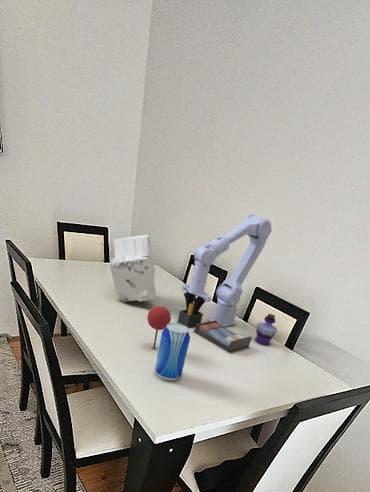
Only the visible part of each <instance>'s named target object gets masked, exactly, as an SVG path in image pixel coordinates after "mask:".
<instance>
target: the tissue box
mask: <svg viewBox="0 0 370 492" xmlns="http://www.w3.org/2000/svg"><path fill="white" fill-rule="evenodd" d="M112 241H113V242H112V243H113V252H114V257H111V258H110V263H109V267H110V272H111V276H112V280H113V285H114V288H115V289H114V290H115V293H116V296H118V300H119V301H123V302H124V303H126V302H133V301H138V302H143V301H144V302H146V301H151V300H153V299H154V298H156V295H157V293H156V291H157V290H156V283H155V274H156V267H155V262H154V257H153V256H154V255H153V251H152V244H151V239H150V234H148V233H147V234H141V235H134V236H128V237H120V238H114V239H112Z"/></svg>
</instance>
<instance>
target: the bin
mask: <svg viewBox="0 0 370 492" xmlns="http://www.w3.org/2000/svg"><path fill="white" fill-rule="evenodd" d="M187 313H188V311H186V309H180V310H179V314H178V319H177V323H178V324H182V325H184V326H186V327H187V328H191V327H196V324H198V323H202V319H203V315H204V313H202V312H200V310H199V311H198V313H197V314H196V315H188V314H187Z"/></svg>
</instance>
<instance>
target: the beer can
mask: <svg viewBox="0 0 370 492" xmlns="http://www.w3.org/2000/svg"><path fill="white" fill-rule="evenodd" d="M190 340H191V336H190V329H189V327H186V326H184V325H182V324H180V323H179V322H170V323H169V324H167V326H166V328H165V329H163V330H161V336H160V340H159V346H158V350H157V357H156V361H155V366H154V371H155V373H156V376H158V378H159V379H162V380H165V381H170V382H174V381H177V380H178V379H179V378H180V377H182V374H183V369H184V366H185V361H186V358H187V353H188V350H189V346H190Z"/></svg>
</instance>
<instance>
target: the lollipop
mask: <svg viewBox="0 0 370 492" xmlns="http://www.w3.org/2000/svg"><path fill="white" fill-rule="evenodd" d="M171 315H172V314H171V312H170V311H169V310H168V309H167V308H166V307H164V306H162V305H156V306H153V307H151V308H150V309H149V311H148V313H147V317H146V318H147V323H148V326H150V327H151V328H152V329H153V330H155V335H154V341H153V347H152V349H154V350H155V348H156V344H157V339H158V338H157V337H158V332H159V331H163V330H164V329H165V328H166V326H167V324H169V323H171V321H172V320H171V319H172V316H171Z"/></svg>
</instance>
